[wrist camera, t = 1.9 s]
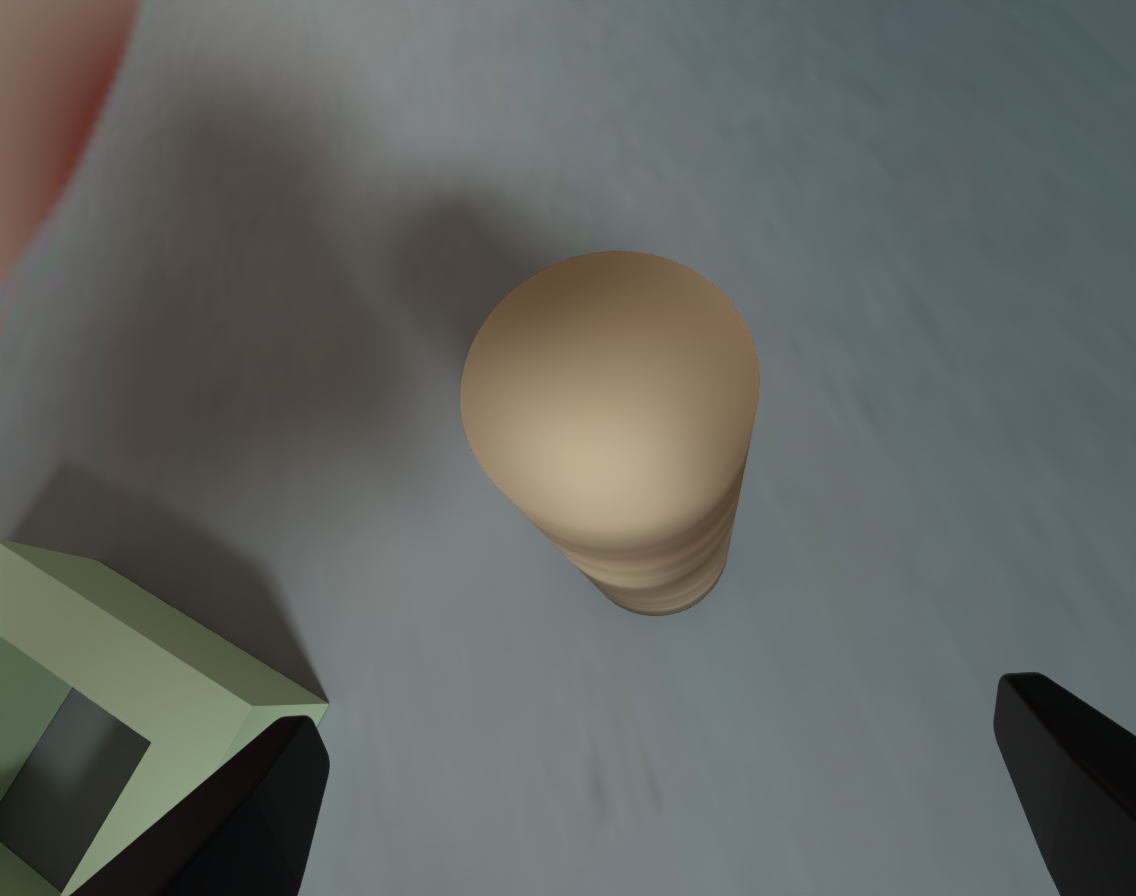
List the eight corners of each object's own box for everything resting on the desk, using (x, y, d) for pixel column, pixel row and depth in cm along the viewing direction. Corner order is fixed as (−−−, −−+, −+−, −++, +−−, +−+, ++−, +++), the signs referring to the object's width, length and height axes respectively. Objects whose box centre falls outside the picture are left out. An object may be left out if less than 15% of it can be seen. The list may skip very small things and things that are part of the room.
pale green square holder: (133, 1062, 19) (-2, 1151, 16) (-96, 856, 22) (-254, 888, 19) (329, 703, 22) (252, 705, 18) (97, 560, 25) (-11, 537, 21)
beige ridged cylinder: (692, 642, 20) (682, 581, 9) (558, 576, 22) (408, 454, 11) (751, 506, 21) (806, 304, 10) (619, 451, 23) (542, 218, 11)
